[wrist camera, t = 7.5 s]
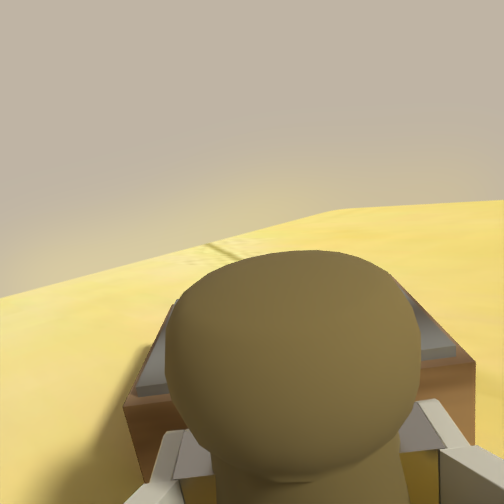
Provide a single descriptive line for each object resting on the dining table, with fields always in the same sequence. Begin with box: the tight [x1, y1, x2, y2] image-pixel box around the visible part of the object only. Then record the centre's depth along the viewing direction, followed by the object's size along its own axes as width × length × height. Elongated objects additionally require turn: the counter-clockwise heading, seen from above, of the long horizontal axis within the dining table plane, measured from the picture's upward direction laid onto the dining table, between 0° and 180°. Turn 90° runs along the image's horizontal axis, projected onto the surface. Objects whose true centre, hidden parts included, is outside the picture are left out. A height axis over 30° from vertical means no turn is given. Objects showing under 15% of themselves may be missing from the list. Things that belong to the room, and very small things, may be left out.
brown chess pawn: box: [165, 250, 421, 504], centre depth 9 cm, size 6×6×11 cm
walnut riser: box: [123, 274, 476, 484], centre depth 21 cm, size 10×14×4 cm
